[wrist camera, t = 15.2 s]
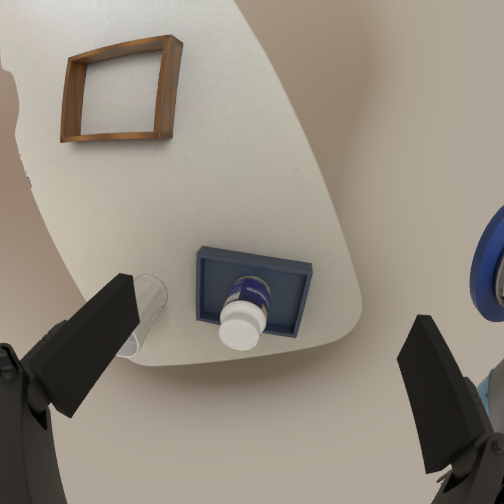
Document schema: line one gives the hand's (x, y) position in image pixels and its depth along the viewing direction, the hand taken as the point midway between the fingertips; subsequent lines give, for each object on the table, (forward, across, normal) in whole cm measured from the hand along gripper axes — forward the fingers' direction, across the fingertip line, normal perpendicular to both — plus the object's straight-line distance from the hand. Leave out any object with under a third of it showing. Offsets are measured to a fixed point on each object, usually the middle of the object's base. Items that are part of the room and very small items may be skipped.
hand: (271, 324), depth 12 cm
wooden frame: (+25, -24, +14) cm, 37 cm away
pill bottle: (+24, -4, -14) cm, 28 cm away
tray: (+25, -4, -14) cm, 29 cm away
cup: (+25, -20, -17) cm, 36 cm away
